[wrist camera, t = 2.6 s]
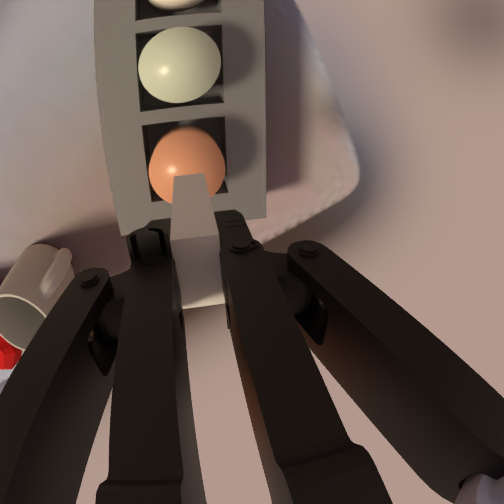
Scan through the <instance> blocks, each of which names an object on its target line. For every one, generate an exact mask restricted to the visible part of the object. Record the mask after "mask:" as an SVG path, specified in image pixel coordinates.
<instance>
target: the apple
mask: <svg viewBox="0 0 504 504" xmlns="http://www.w3.org/2000/svg"><path fill="white" fill-rule="evenodd" d="M21 354H22V350H21V349H18V348H16V347H14V346H13V345H11V344H10V343H8V342H7V341H6V340H5V339H4V338H2V337H1V336H0V369H12V368H13V367H14V366H15V365H16V364H17V362H18V361H19V360H20V358H21Z"/></svg>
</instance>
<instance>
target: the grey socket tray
mask: <svg viewBox="0 0 504 504" xmlns="http://www.w3.org/2000/svg"><path fill="white" fill-rule="evenodd" d="M174 27H191V28H195V29H198V30H200V31H202V32H204V33H205V34H207V35H208V36H209V37H210V38H211V39H212V40H213V41H214V42H215V44H216V45H217V47H218V50H219V52H220V57H221V67H220V72H219V75H218V77H217V79H216V81H215V83H214V84H213V86H212V87H211V88H210V89H209V90H208V91H207V92H206V93H204V94H203V95H202V96H200V97H198V98H196V99H194V100H191V101H188V102H183V103H170V102H165V101H162V100H160V99H158V98H156V97H154V96H153V95H151V94H150V93H149V92H148V91H147V90H146V89H145V87H144V86H143V84H142V82H141V80H140V76H139V71H138V64H139V59H140V55H141V53H142V51H143V49H144V47H145V46H146V44H147V43H148V42H149V41H150V40H151V39H152V38H153V37H154V36H156V35H157V34H159V33H160V32H162V31H164V30H167V29H170V28H174ZM94 47H95V67H96V81H97V93H98V103H99V113H100V121H101V129H102V137H103V144H104V150H105V157H106V163H107V169H108V175H109V180H110V186H111V191H112V196H113V201H114V206H115V211H116V216H117V220H118V225H119V229H120V233H121V236H123V235H129V234H130V233H131V232H133V231H135V230H137V229H139V228H143V227H145V226H146V225H147V224H148V223H149V222H150V221H151V220H158V219H166V218H171V212H172V204H171V203H168V202H167V201H165V200H163V199H162V198H161V197H160V196H159V195H158V194H157V193H156V192H155V190H154V189H153V187H152V185H151V182H150V179H149V164H150V160H151V157H152V155H153V152H154V149H155V147H156V144H157V142H158V140H159V139H160V138H161V137H162V135H163V134H164V133H166V132H167V131H168V130H170V129H172V128H174V127H177V126H181V125H194V126H197V127H200V128H202V129H204V130H206V131H207V132H208V133H209V134H210V135H211V136H212V137H213V139H214V140H215V142H216V144H217V146H218V147H219V149H220V151H221V153H222V155H223V158H224V162H225V176H224V180H223V182H222V185H221V186H220V188H219V190H218V191H217V192H216V193H215V194H214V195H213V196H212V197H211V198H210V199H211V204H212V208H213V212H216V211H225V210H234V209H235V210H237V211H238V212H240V213H242V215H243V217H244V219H245V220H250V219H259V218H266V91H265V29H264V0H204V1H203V2H202V3H200V4H199V5H197V6H196V7H194V8H192V9H189V10H186V11H181V12H167V11H163V10H160V9H158V8H156V7H154V6H153V5H152V4H150V2H149V1H148V0H94Z"/></svg>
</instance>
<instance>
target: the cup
mask: <svg viewBox="0 0 504 504" xmlns="http://www.w3.org/2000/svg"><path fill="white" fill-rule="evenodd" d="M71 259H72V254H71V252H70V250H69V249H67V248H64V247H63V248H61V249H60V250H58V249H57V248H55V247H53V246H50V245H46V244H34V245H31V246H29V247H27V248H26V249H25V250H24V251H23V252H22V254H21V255H20V256H19V258H18V259H17V261H16V262H15V264H14V265H13V267H12V268H11V270H10V271H9V273H8V274H7V276H6V278H5V279H4V281H3V282H2V284H1V286H0V336H1V337H2V338H4V339H5V340H6V341H7V342H8V343H10V344H11V345H13V346H14V347H16V348H18V349H21V350H23V351H25V350H26V348H27V346H28V345H29V343H30V341H31V340H32V338H33V337H34V335H35V334H36V332H37V330H38V329H39V327H40V326H41V324H42V323H43V321H44V320H45V318H46V317H47V315H48V314H49V312H50V311H51V309H52V308H53V306H54V305H55V303H56V302H57V300H58V299H59V298H60V296H61V295H62V293H63V292H64V291H65V289H66V288H67V286H68V285H69V284H70V282H71V281H72V279H73V278H74V277H75V275H74V271H73V267H72V265H71Z"/></svg>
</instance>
